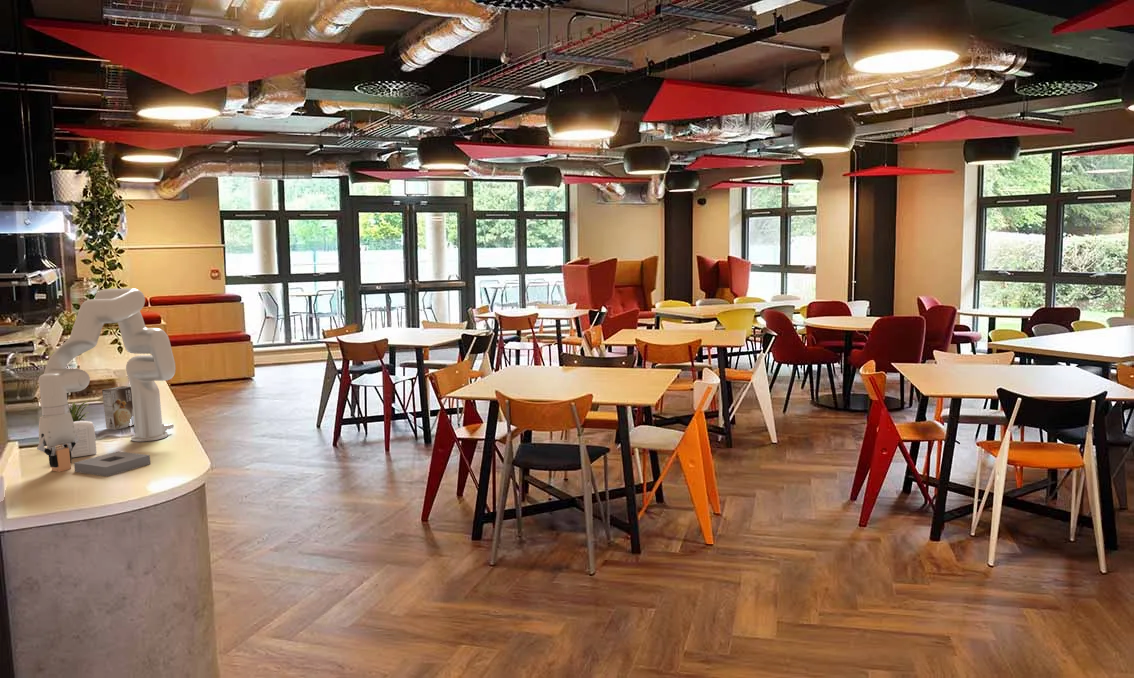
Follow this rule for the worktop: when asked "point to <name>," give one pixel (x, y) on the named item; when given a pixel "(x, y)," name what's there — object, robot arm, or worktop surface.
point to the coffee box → (117, 407)
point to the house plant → (73, 411)
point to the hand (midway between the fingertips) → (61, 464)
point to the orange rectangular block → (62, 459)
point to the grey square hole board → (112, 463)
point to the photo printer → (84, 439)
